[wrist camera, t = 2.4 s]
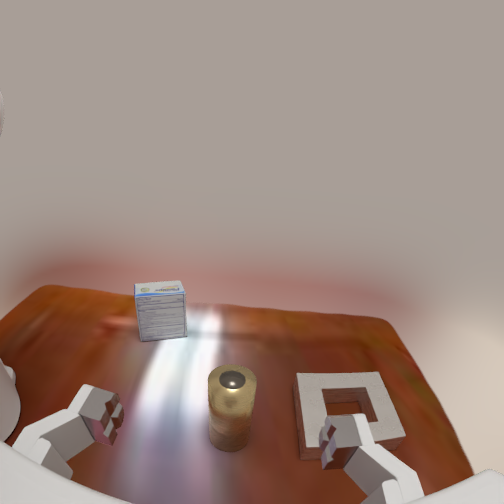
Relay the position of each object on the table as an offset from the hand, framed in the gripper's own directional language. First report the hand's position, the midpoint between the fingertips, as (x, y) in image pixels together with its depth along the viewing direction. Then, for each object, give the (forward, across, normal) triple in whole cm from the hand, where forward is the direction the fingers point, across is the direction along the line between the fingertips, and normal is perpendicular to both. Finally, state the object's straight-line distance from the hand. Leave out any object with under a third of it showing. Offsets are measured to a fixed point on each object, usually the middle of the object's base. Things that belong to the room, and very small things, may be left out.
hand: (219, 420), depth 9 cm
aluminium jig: (+15, -14, +20) cm, 29 cm away
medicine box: (+31, +13, +20) cm, 39 cm away
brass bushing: (+12, 0, +20) cm, 23 cm away
